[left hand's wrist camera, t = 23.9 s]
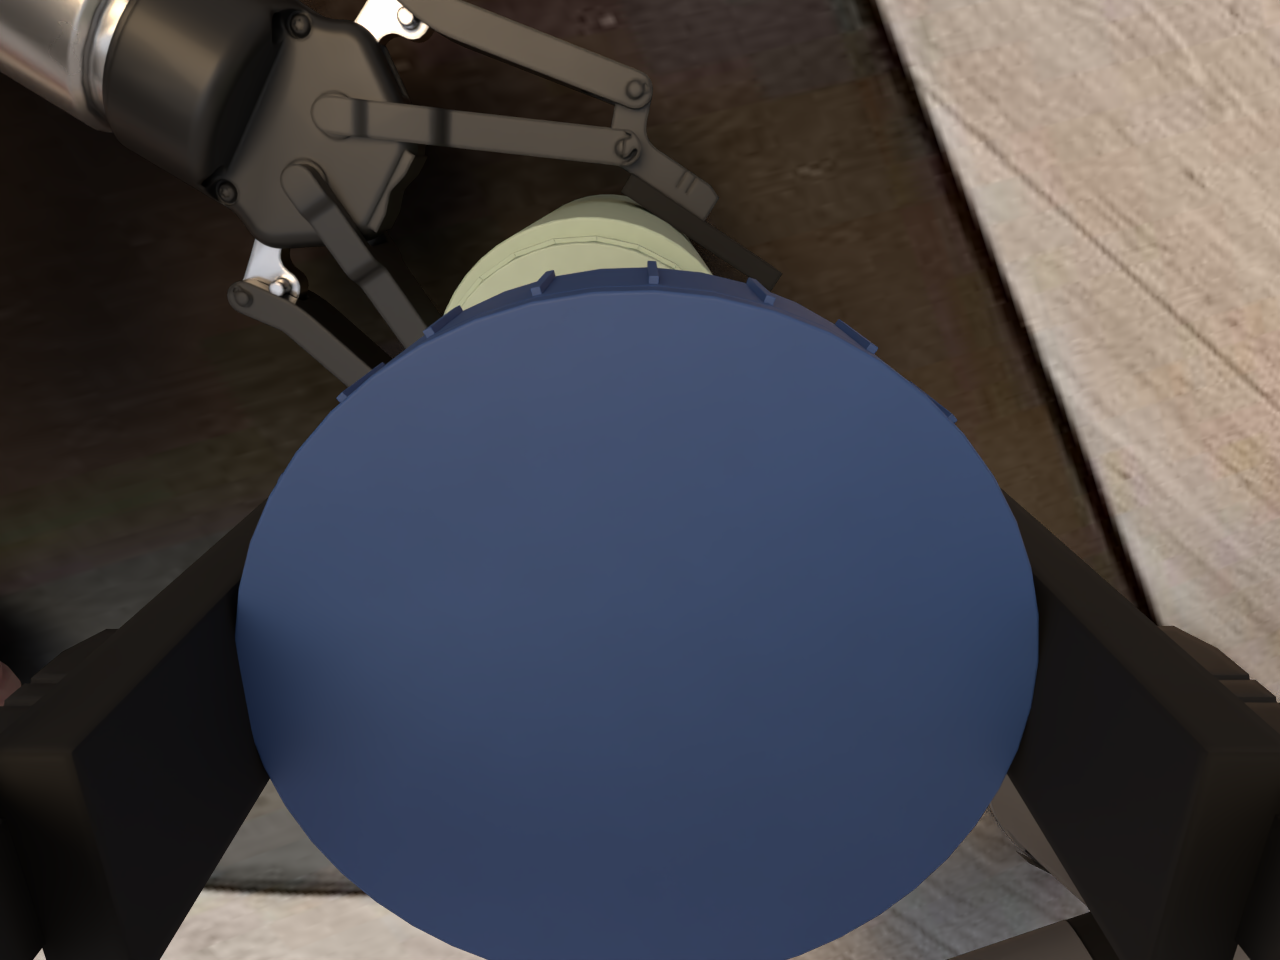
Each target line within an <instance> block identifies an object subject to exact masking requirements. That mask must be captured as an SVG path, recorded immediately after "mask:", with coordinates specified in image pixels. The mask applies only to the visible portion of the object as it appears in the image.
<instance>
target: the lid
mask: <svg viewBox="0 0 1280 960" xmlns="http://www.w3.org/2000/svg"><path fill="white" fill-rule="evenodd" d="M423 333H424V336H423V337H421V338H420V339H418V340H417V341H416V342H414V343H413V344H412V345H411V346H409V347H408V348H407V349H405V350H404V351H403V352H401V353H400V354H399V355H398V356H396V357H395V358H394V359H392V360H391V361H390V362H388V363H387V364H386V365H385V364H384V363H383V362H382V363H380V364H379V365H378V366H376V367H375V368H374V369H372V370H371V371H370V372H368V373H367V374H366V375H364V376H363V377H362V378H360V379H359V380H358V381H356V382H355V383H354V384H352V385H351V386H350V387H348V388H347V389H346V390H344V391H343V392H342V393H341V394H340V395H339V396H338V397H337V398H336V399H337V400H338V401H339V402H340V404H339V405H337V406H336V407H335V408H334V409H333V410H332V411H331V412H330V413H329V414H328V415H327V416H326V417H325V419H324V420H323V421H322V422H321V423H320V425H319V426H318V427H317V428H316V429H315V430H314V432H313V433H312V434H311V435H310V436H309V438H308V439H307V440H306V441H305V442H304V443H303V445H302V446H301V447H300V448H299V449H298V451H297V452H296V453H295V455H294V456H293V458H292V460H291V461H290V463H289V465H288V466H287V468H286V469H285V471H284V472H283V473H282V474H281V475H280V477H279V479H278V482H277V484H276V486H275V487H274V489H273V491H272V492H271V494H270V496H269V498H268V500H267V503H266V505H265V507H264V510H263V512H262V515H261V517H260V519H259V522H258V524H257V526H256V529H255V531H254V534H253V536H252V538H251V541H250V544H249V549H248V553H247V557H246V561H245V565H244V569H243V573H242V577H241V581H240V586H239V592H238V605H237V617H236V629H235V642H236V648H237V654H238V660H239V666H240V672H241V677H242V682H243V687H244V693H245V698H246V703H247V708H248V714H249V719H250V724H251V730H252V734H253V738H254V742H255V745H256V748H257V750H258V753H259V756H260V758H261V761H262V763H263V766H264V768H265V770H266V772H267V774H268V775H269V777H270V779H271V781H272V783H273V784H274V786H275V788H276V790H277V792H278V794H279V795H280V797H281V799H282V801H283V803H284V804H285V806H286V807H287V809H288V810H289V812H290V813H291V814H292V816H293V817H294V818H295V820H296V821H297V822H298V824H299V825H300V827H301V828H302V829H303V831H304V832H305V833H306V835H307V836H308V837H309V839H310V840H311V841H312V842H313V844H314V845H315V846H316V847H317V848H318V849H319V850H320V851H321V852H322V853H323V854H324V855H325V856H326V857H327V858H328V859H329V860H330V861H331V862H332V864H333V865H334V866H335V867H336V868H337V869H338V870H339V871H340V872H341V873H342V874H343V875H344V876H346V877H347V878H348V879H349V880H350V881H352V882H353V883H354V884H355V885H356V886H358V887H359V888H360V889H361V890H362V891H364V892H365V893H366V894H367V895H369V896H370V897H371V898H372V899H373V900H375V901H376V902H377V903H379V904H380V905H382V906H383V907H385V908H386V909H388V910H389V911H391V912H393V913H394V914H396V915H397V916H399V917H400V918H402V919H403V920H405V921H406V922H408V923H409V924H411V925H412V926H414V927H416V928H418V929H420V930H422V931H424V932H426V933H428V934H430V935H432V936H434V937H436V938H438V939H440V940H442V941H443V942H445V943H447V944H449V945H451V946H454V947H456V948H459V949H461V950H464V951H467V952H469V953H472V954H474V955H477V956H479V957H482V958H485V959H487V960H787V959H790V958H793V957H796V956H799V955H802V954H804V953H806V952H808V951H811V950H813V949H815V948H818V947H820V946H822V945H824V944H827V943H829V942H831V941H833V940H836V939H838V938H840V937H842V936H844V935H845V934H847V933H849V932H851V931H852V930H854V929H856V928H858V927H859V926H861V925H863V924H865V923H866V922H868V921H870V920H872V919H873V918H875V917H877V916H879V915H880V914H881V913H883V912H884V911H885V910H887V909H888V908H890V907H891V906H892V905H894V904H895V903H896V902H898V901H899V900H901V899H902V898H903V897H905V896H906V895H907V894H909V893H910V892H911V891H913V890H914V889H915V888H916V887H918V886H919V885H920V884H921V883H922V882H923V881H924V880H925V879H926V878H927V877H928V876H929V875H931V874H932V873H933V872H934V871H935V870H936V869H937V868H938V867H939V866H940V865H941V864H942V863H943V862H945V861H946V860H947V859H948V857H949V856H950V855H951V854H952V853H953V852H954V850H955V849H956V848H957V847H958V846H959V845H960V843H961V842H962V841H963V840H964V839H965V837H966V836H967V835H968V834H969V833H970V832H971V830H972V829H973V828H974V827H975V826H976V824H977V823H978V821H979V819H980V818H981V816H982V815H983V813H984V812H985V810H986V809H987V807H988V806H989V804H990V803H991V801H992V799H993V798H994V796H995V795H996V793H997V792H998V790H999V789H1000V787H1001V784H1002V782H1003V780H1004V778H1005V776H1006V774H1007V772H1008V770H1009V767H1010V765H1011V763H1012V761H1013V759H1014V757H1015V755H1016V753H1017V751H1018V748H1019V745H1020V742H1021V739H1022V735H1023V732H1024V729H1025V726H1026V722H1027V719H1028V716H1029V713H1030V710H1031V705H1032V700H1033V694H1034V687H1035V681H1036V674H1037V668H1038V644H1039V614H1038V608H1037V601H1036V595H1035V588H1034V582H1033V575H1032V569H1031V565H1030V562H1029V559H1028V555H1027V552H1026V549H1025V546H1024V543H1023V540H1022V537H1021V534H1020V530H1019V527H1018V524H1017V521H1016V519H1015V517H1014V515H1013V513H1012V511H1011V509H1010V507H1009V505H1008V503H1007V501H1006V499H1005V497H1004V495H1003V493H1002V491H1001V489H1000V487H999V485H998V483H997V481H996V479H995V477H994V476H993V474H992V473H991V471H990V470H989V469H988V467H987V466H986V464H985V463H984V462H983V460H982V459H981V457H980V456H979V454H978V453H977V452H976V450H975V449H974V447H973V446H972V445H971V443H970V442H969V440H968V439H967V438H966V436H965V435H964V434H963V432H962V431H961V430H960V429H959V428H958V427H957V426H956V425H955V424H954V423H955V422H956V421H957V419H956V418H955V416H954V415H953V414H952V413H950V412H949V411H948V410H947V409H945V408H944V407H943V406H941V405H940V404H939V403H938V402H936V401H935V400H934V399H932V398H931V397H930V396H929V395H927V394H926V393H925V392H923V391H922V390H921V389H920V388H918V387H917V386H916V385H914V384H913V383H912V382H911V381H908V380H906V379H905V378H904V377H903V376H901V375H900V374H899V373H898V372H896V371H895V370H894V369H892V368H891V367H890V366H889V365H887V364H886V363H885V362H883V361H882V360H881V359H880V358H878V357H877V356H876V355H875V352H876V351H877V349H878V347H877V346H875V345H874V344H873V343H871V342H870V341H869V340H867V339H866V338H865V337H863V336H862V335H861V334H859V333H858V332H856V331H855V330H854V329H852V328H851V327H850V326H848V325H847V324H846V323H844V322H843V321H841V320H840V319H838V321H837V322H836V324H833V323H831V322H830V321H828V320H826V319H824V318H822V317H821V316H819V315H817V314H815V313H814V312H812V311H810V310H808V309H807V308H805V307H803V306H801V305H799V304H798V303H796V302H794V301H791V300H789V299H786V298H783V297H781V296H778V295H776V294H773V293H771V292H769V291H768V290H767V289H766V288H765V287H764V286H763V285H761V284H760V283H759V282H758V281H757V280H756V279H753V278H750V277H749V278H748V280H747V283H743V282H739V281H735V280H730V279H726V278H722V277H718V276H714V275H710V274H706V273H702V272H693V271H683V270H674V269H664V268H657V263H656V261H647V267H640V268H606V269H596V270H590V271H584V272H578V273H572V274H566V275H560V276H555V272H554V270H551V271H546V272H545V273H544V274H543V275H542V276H541V278H540V279H539V280H538V281H537V282H533V283H530V284H527V285H524V286H520V287H517V288H514V289H511V290H507V291H504V292H502V293H500V294H498V295H496V296H494V297H491V298H489V299H487V300H485V301H483V302H481V303H479V304H476V305H474V306H472V307H470V308H468V309H466V310H464V311H463V310H462V308H461V306H460V305H459V306H457V307H455V308H453V309H452V310H450V311H449V312H448V313H446V314H445V315H444V316H442V317H441V318H440V319H438V320H437V321H436V322H434V323H433V324H432V325H430V326H429V327H428V328H426V329H425V330H424V331H423Z"/></svg>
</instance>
